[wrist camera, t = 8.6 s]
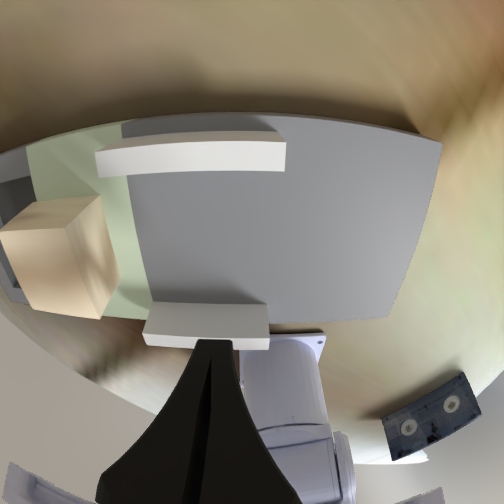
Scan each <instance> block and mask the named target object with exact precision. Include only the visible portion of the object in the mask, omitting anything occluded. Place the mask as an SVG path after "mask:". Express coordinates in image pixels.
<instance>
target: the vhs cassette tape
mask: <svg viewBox="0 0 504 504" xmlns="http://www.w3.org/2000/svg"><path fill="white" fill-rule="evenodd" d="M480 416H481V411H480V408H479V406H478V403H477V401H476V398H475V395H474V394H473V391H472V389H471V386H470V383H469V382H468V380H467V378H466V375H465V374H464V372H462V373H461V374H459V375H458V376H456V377H455V378H453V379H452V380H450V381H449V382H447V383H446V384H444V385H443V386H441V387H439V388H438V389H436V390H434V391H433V392H431V393H429V394H428V395H426V396H424V397H422V398H421V399H419V400H417V401H415V402H413V403H411V404H410V405H408V406H406V407H404V408H402V409H400V410H398V411H396V412H394V413H392V414H390V415H388V416H385V417H383V418H382V424H383V426H384V430H385V434H386V437H387V442H388V445H389V449H390V453H391V458H392V461H396V460H398V459H400V458H403V457H405V456H408V455H410V454H413V453H414V452H417V451H419V450H421V449H423V448H425V447H427V446H429V445H431V444H433V443H436V442H438V441H439V440H441V439H443V438H445V437H447V436H449V435H451V434H452V433H454V432H456V431H457V430H459V429H460V428H462V427H464V426H466V425H467V424H469V423H470V422H472V421H474V420H475V419H477V418H478V417H480Z"/></svg>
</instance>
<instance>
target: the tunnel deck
mask: <svg viewBox="0 0 504 504" xmlns="http://www.w3.org/2000/svg"><path fill="white" fill-rule="evenodd" d="M442 145H443V143H440V142H438V141H436V140H433V139H431V138H428V137H426V136H423V135H420V134H416V133H413V132H408V131H404V130H400V129H395V128H391V127H386V126H381V125H376V124H370V123H365V122H359V121H353V120H346V119H339V118H331V117H323V116H314V115H303V114H290V113H272V112H204V113H186V114H174V115H163V116H154V117H145V118H138V119H131V120H124V121H118V122H112V123H107V124H102V125H96V126H92V127H87V128H82V129H78V130H74V131H70V132H66V133H62V134H58V135H54V136H51V137H47V138H44V139H40V140H37V141H34V142H31V143H28V144H25V145H22V146H19V147H16V148H13V149H10V150H8V151H5V152H2V153H0V229H1V228H2V227H3V226H5V225H6V224H7V223H8V222H9V221H10V220H12V219H13V218H14V217H15V216H16V215H18V214H19V213H20V212H21V211H22V210H24V209H25V208H26V207H27V206H29V205H30V204H31V203H33V202H38V201H46V200H54V199H62V198H71V197H81V196H91V195H100V196H101V201H102V206H103V210H104V215H105V219H106V224H107V228H108V232H109V236H110V240H111V244H112V247H113V251H114V255H115V258H116V262H117V265H118V268H119V272H120V275H121V279H120V281H119V282H118V284H117V286H116V288H115V290H114V292H113V294H112V296H111V298H110V300H109V302H108V304H107V306H106V308H105V310H104V312H103V314H102V316H111V317H121V318H132V319H143V320H146V323H145V326H144V329H143V332H142V334H143V337H144V339H145V342H146V344H147V345H153V346H165V347H178V348H194V347H195V345H196V342H197V340H198V339H230V340H231V341H233V350H269V342H270V334H269V324H281V323H314V322H334V321H349V320H363V319H375V318H386V317H388V315H389V313H390V311H391V308H392V306H393V304H394V302H395V299H396V297H397V295H398V292H399V290H400V288H401V285H402V283H403V280H404V278H405V275H406V273H407V270H408V268H409V265H410V262H411V260H412V257H413V254H414V251H415V248H416V246H417V243H418V240H419V237H420V234H421V230H422V227H423V224H424V221H425V217H426V214H427V211H428V207H429V203H430V200H431V196H432V192H433V188H434V184H435V179H436V175H437V170H438V166H439V161H440V156H441V150H442ZM0 282H1V284H2V286H3V288H4V290H5V291H6V293H7V295H8V297H9V299H10V301H11V302H16V303H22V304H27V305H30V303H29V301H28V300H27V298H26V296H25V294H24V292H23V290H22V288H21V286H20V284H19V282H18V280H17V278H16V276H15V274H14V271H13V269H12V267H11V265H10V262H9V260H8V258H7V255H6V253H5V250H4V248H3V245H2V243H1V240H0Z"/></svg>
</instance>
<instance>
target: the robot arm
mask: <svg viewBox="0 0 504 504" xmlns="http://www.w3.org/2000/svg"><path fill="white" fill-rule="evenodd" d="M325 341H326V334H325V333H306V334H274V335H270V342H269V350H239V357H240V385H239V381H238V378H237V374H236V370H235V364H234V353H233V341H231V340H230V339H198V340H197V342H196V345H195V347H194V350H193V352H192V355H191V357H190V359H189V361H188V363H187V366H186V368H185V370H184V372H183V374H182V375H181V377H180V379H179V381H178V383H177V385H176V387H175V388H174V390H173V392H172V393H171V395H170V397H169V398H168V400H167V402H166V403H165V405H164V406H163V408H162V409H161V411H160V412H159V414H158V415H157V416H156V418H155V419H154V421H153V422H152V423H151V424H150V426H149V427H148V428H147V429H146V431H145V432H144V433H143V435H142V436H141V437H140V438H139V439H138V440H137V441H136V442H135V443H134V444H133V445H132V447H130V449H129V450H128V451H127V452H126V453H125V454H124V455H123V456H122V457H121V458H120V459H119V460H117V461H116V462H115V463H114V464H113V465H111V466H110V467H109V468H108V469H107V470H106V471H104V472H103V473H102V474H101V477H100V480H99V483H98V486H97V492H96V498H95V501H96V502H97V503H98V504H356V497H355V492H356V481H355V474H354V467H353V461H352V455H351V450H350V445H349V441H348V437H347V436H346V435H344V434H341V432H340V431H337V432H333V433H334V440H335V443H334V442H333V437H332V432H331V428H330V424H329V422H328V416H327V411H326V405H325V400H324V395H323V389H322V384H321V379H320V374H319V369H318V364H317V363H318V360H319V358H320V355H321V352H322V349H323V346H324V344H325ZM240 386H241V387H243V388H244V397H243V394H242V391H241V388H240ZM334 445H335V449H334ZM335 452H336V454H335ZM339 479H340V480H339ZM2 498H3V500H5V501H6V502H7V503H9V504H95V503H93V502H90V501H88V500H85V499H83V498H80V497H78V496H75V495H73V494H71V493H69V492H66V491H64V490H62V489H60V488H58V487H56V486H55V485H54V484H52V483H51V482H49V481H47V480H45V479H43V478H41V477H39V476H37V475H35V474H33V473H30V472H28V471H26V470H25V469H23V468H21V467H20V466H18V465H16V464H14V463H12V462H10V463H9V466H8V471H7V475H6V480H5V485H4V491H3V496H2ZM396 504H445V500H444V495H443V491H442V487H439V488H436V489H434V490H431V491H429V492H427V493H424V494H420V495H417V496H414V497H411V498H409V499H406V500H404V501H401V502H398V503H396Z"/></svg>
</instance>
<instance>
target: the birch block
mask: <svg viewBox="0 0 504 504" xmlns="http://www.w3.org/2000/svg"><path fill="white" fill-rule="evenodd" d="M0 240H1V243H2V245H3V248H4V250H5V253H6V255H7V258H8V260H9V262H10V265H11V267H12V269H13V271H14V274H15V276H16V278H17V280H18V282H19V284H20V286H21V288H22V290H23V292H24V294H25V296H26V298H27V300H28V301H29V303H30V305H31V307H32V309H35V310H40V311H46V312H52V313H58V314H64V315H71V316H77V317H85V318H92V319H100V318H101V316H102V314H103V312H104V310H105V308H106V306H107V304H108V302H109V300H110V298H111V296H112V294H113V292H114V290H115V288H116V286H117V284H118V282H119V281H120V279H121V275H120V272H119V268H118V265H117V262H116V258H115V255H114V251H113V247H112V244H111V240H110V236H109V232H108V228H107V224H106V219H105V215H104V210H103V206H102V201H101V196H100V195H91V196H81V197H71V198H62V199H54V200H46V201H38V202H33V203H31V204H30V205H29V206H27V207H26V208H25V209H24V210H22V211H21V212H20V213H19V214H18V215H16V216H15V217H14V218H13V219H12V220H10V221H9V222H8V223H7V224H6V225H5V226H3V227H2V228H1V229H0Z"/></svg>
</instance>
